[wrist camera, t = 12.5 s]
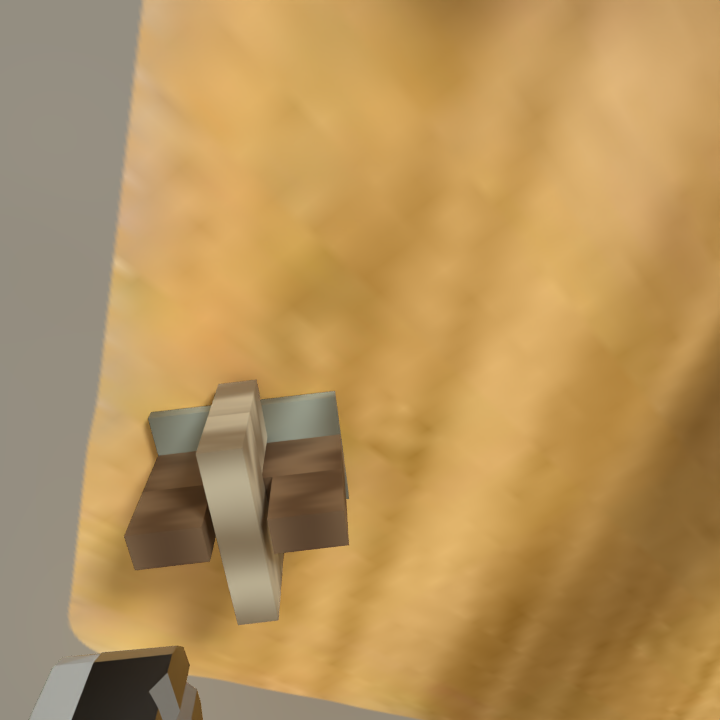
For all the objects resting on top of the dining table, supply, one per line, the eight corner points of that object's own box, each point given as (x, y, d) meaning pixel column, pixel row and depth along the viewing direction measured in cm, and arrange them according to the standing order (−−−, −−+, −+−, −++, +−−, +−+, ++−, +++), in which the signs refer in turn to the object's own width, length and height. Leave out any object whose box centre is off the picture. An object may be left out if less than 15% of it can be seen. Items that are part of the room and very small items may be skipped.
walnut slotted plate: (334, 391, 42) (338, 467, 34) (348, 491, 45) (354, 583, 37) (151, 412, 42) (110, 494, 34) (178, 511, 45) (147, 607, 37)
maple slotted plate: (218, 384, 40) (195, 453, 33) (256, 379, 40) (242, 448, 33) (251, 535, 45) (238, 625, 38) (285, 531, 45) (278, 620, 38)
